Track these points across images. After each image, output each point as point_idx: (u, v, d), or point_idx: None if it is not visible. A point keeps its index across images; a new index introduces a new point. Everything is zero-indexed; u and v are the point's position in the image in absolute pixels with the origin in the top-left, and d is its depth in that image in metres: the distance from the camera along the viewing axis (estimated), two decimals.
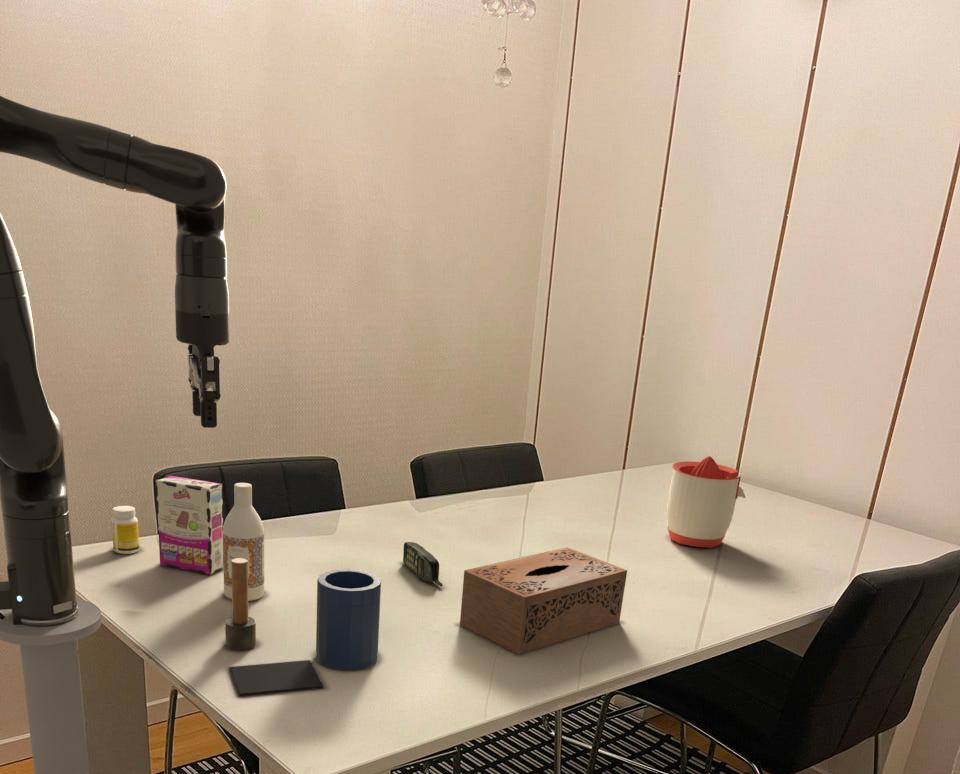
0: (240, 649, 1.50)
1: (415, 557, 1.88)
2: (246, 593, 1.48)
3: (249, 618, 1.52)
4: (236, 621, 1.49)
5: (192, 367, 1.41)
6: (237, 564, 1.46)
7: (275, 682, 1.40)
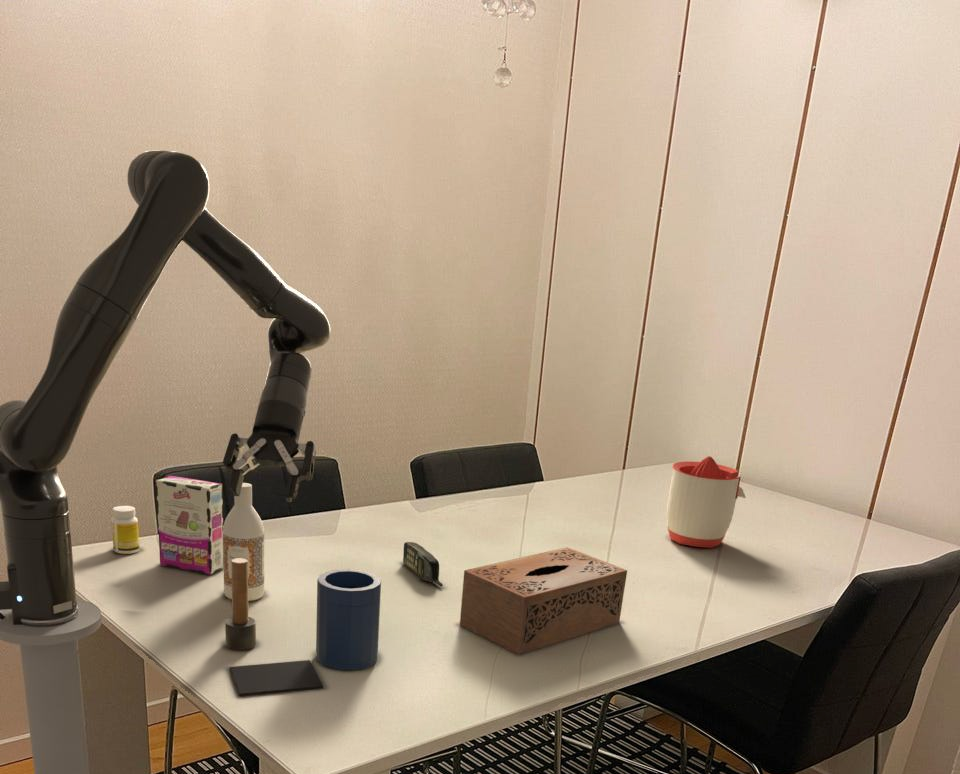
0: (240, 649, 1.50)
1: (415, 557, 1.88)
2: (246, 593, 1.48)
3: (249, 618, 1.52)
4: (236, 621, 1.49)
5: (280, 447, 1.56)
6: (237, 564, 1.46)
7: (275, 682, 1.40)
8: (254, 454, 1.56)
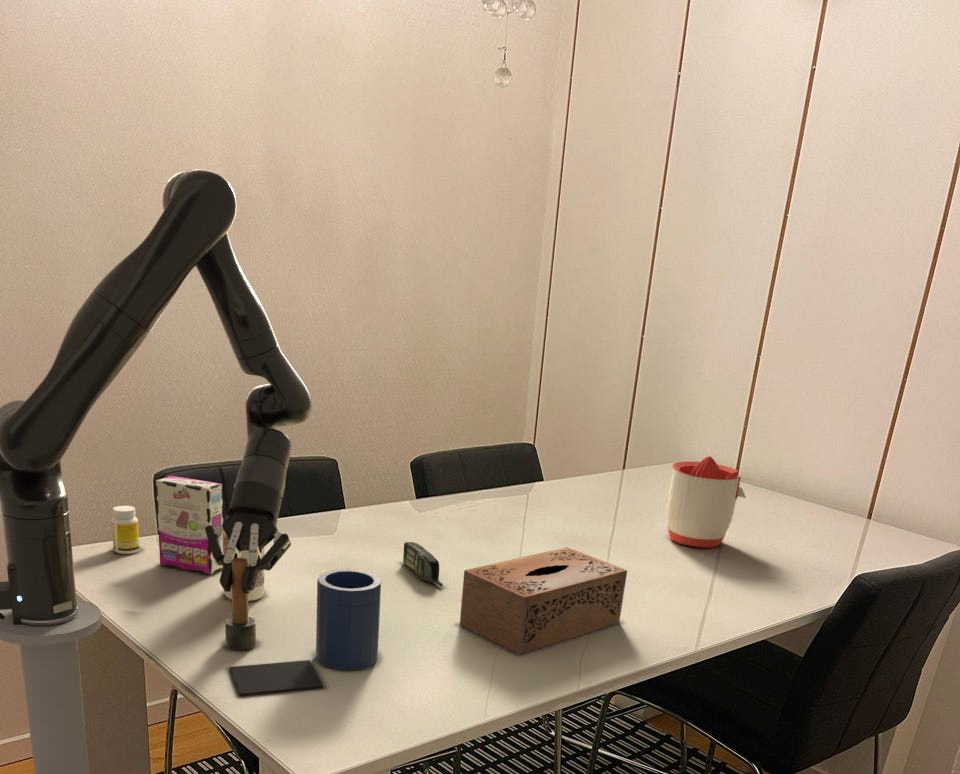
0: (240, 649, 1.50)
1: (415, 557, 1.88)
2: None
3: (249, 618, 1.52)
4: (236, 621, 1.49)
5: (254, 533, 1.48)
6: (236, 564, 1.46)
7: (275, 682, 1.40)
8: (230, 539, 1.48)
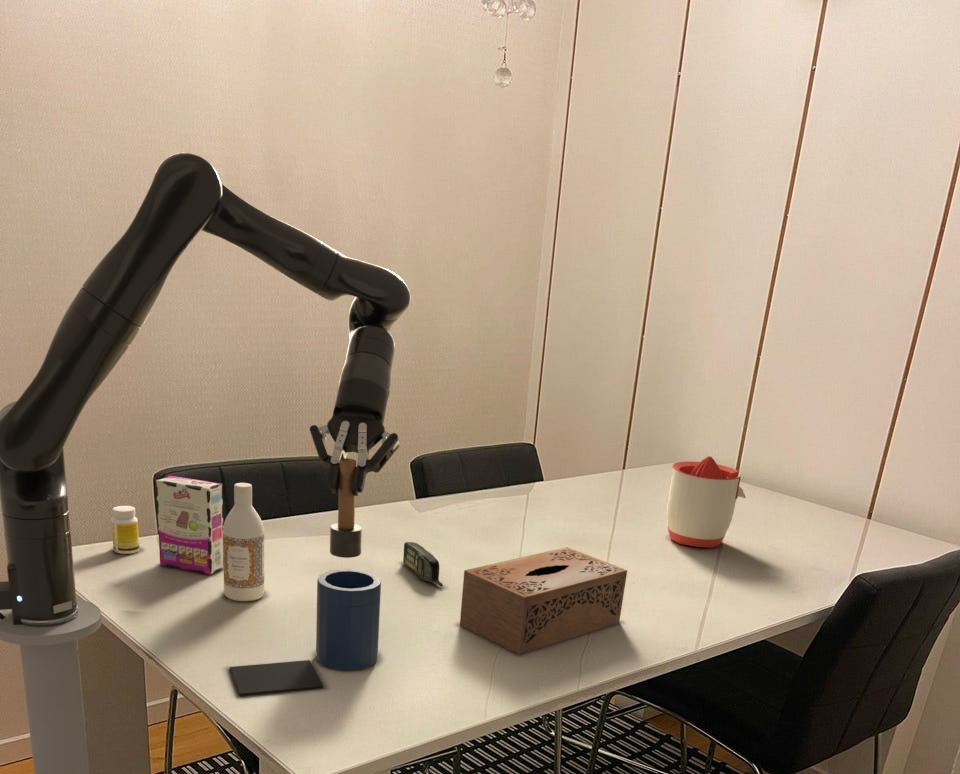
0: (346, 556, 1.42)
1: (415, 557, 1.88)
2: (354, 496, 1.41)
3: (354, 524, 1.44)
4: (343, 526, 1.42)
5: (362, 432, 1.40)
6: (345, 464, 1.38)
7: (275, 682, 1.40)
8: (336, 438, 1.40)
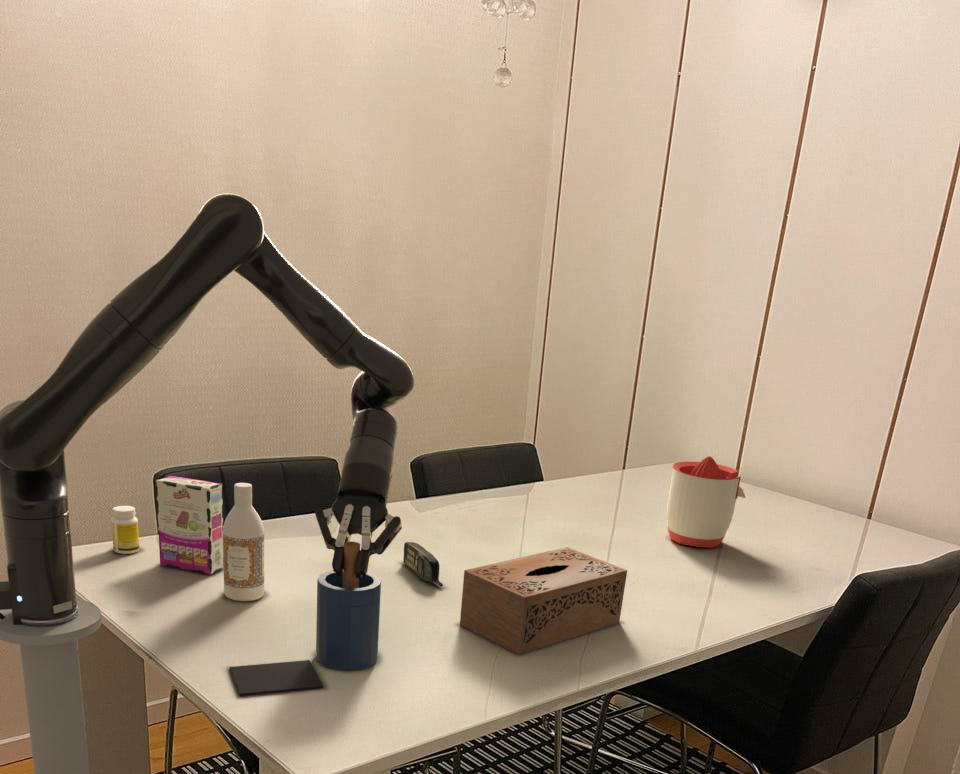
0: None
1: (415, 557, 1.88)
2: (358, 578, 1.44)
3: None
4: None
5: (366, 515, 1.44)
6: (350, 548, 1.41)
7: (275, 682, 1.40)
8: (341, 522, 1.44)
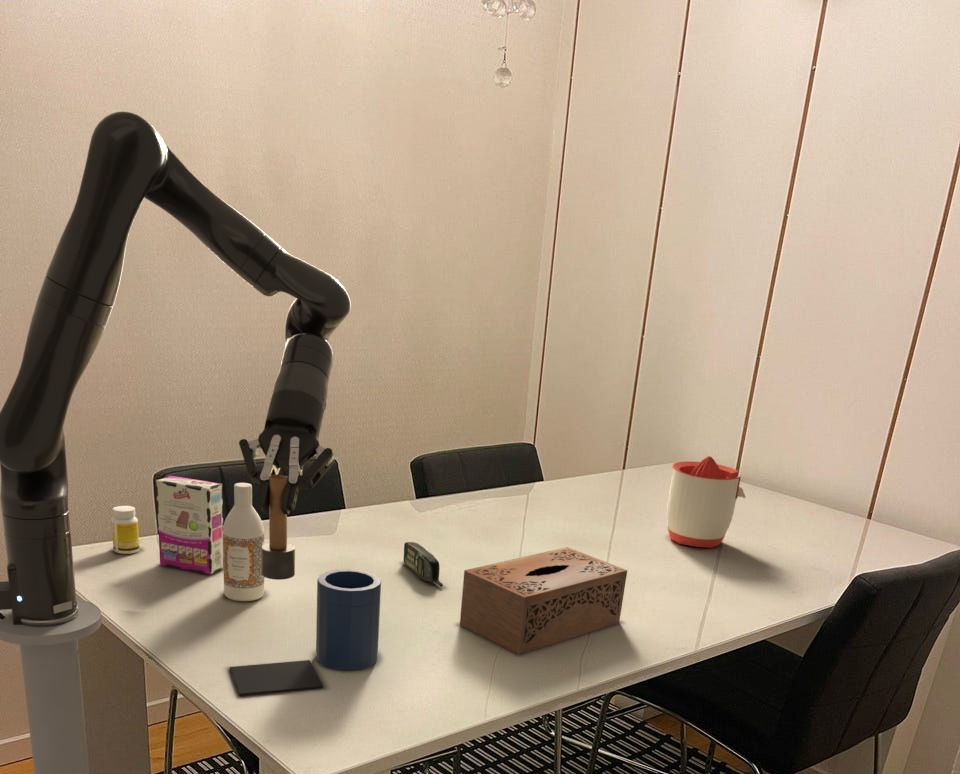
0: (278, 578, 1.34)
1: (415, 557, 1.88)
2: (285, 515, 1.32)
3: (287, 544, 1.36)
4: (274, 546, 1.33)
5: (294, 447, 1.32)
6: (275, 481, 1.30)
7: (275, 682, 1.40)
8: (267, 453, 1.32)
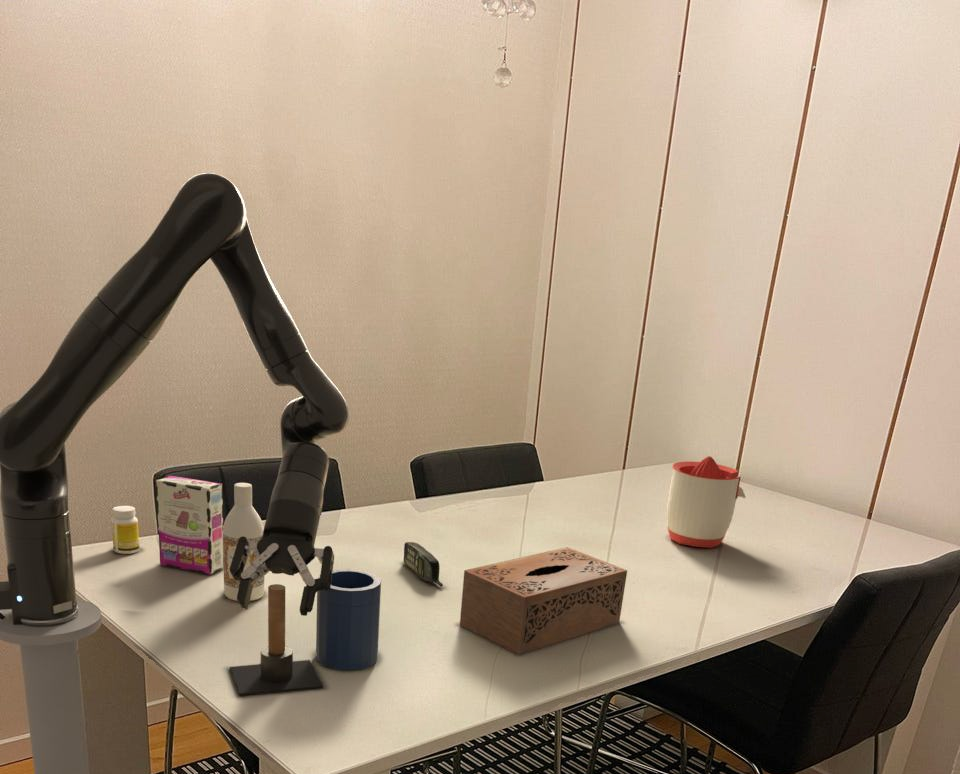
0: (276, 681, 1.40)
1: (415, 557, 1.88)
2: (283, 622, 1.38)
3: (286, 648, 1.42)
4: (273, 651, 1.39)
5: (295, 554, 1.38)
6: (274, 591, 1.36)
7: None
8: (265, 561, 1.38)
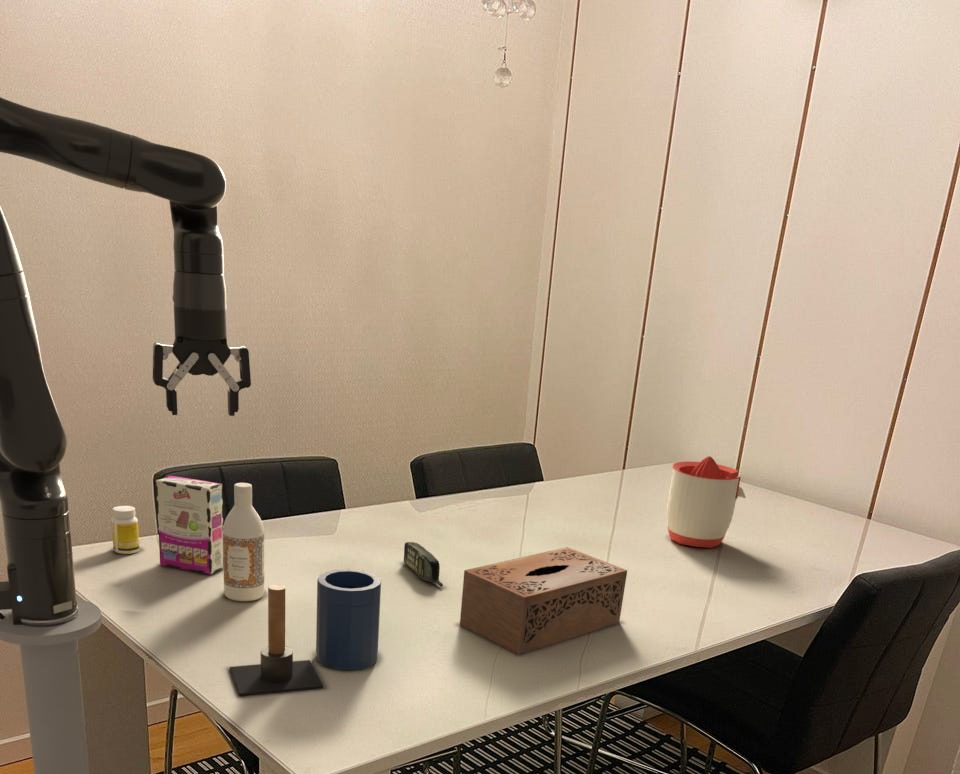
0: (276, 681, 1.40)
1: (415, 557, 1.88)
2: (283, 622, 1.38)
3: (286, 648, 1.42)
4: (273, 651, 1.39)
5: (216, 362, 1.46)
6: (274, 591, 1.36)
7: None
8: (187, 371, 1.45)
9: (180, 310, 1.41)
